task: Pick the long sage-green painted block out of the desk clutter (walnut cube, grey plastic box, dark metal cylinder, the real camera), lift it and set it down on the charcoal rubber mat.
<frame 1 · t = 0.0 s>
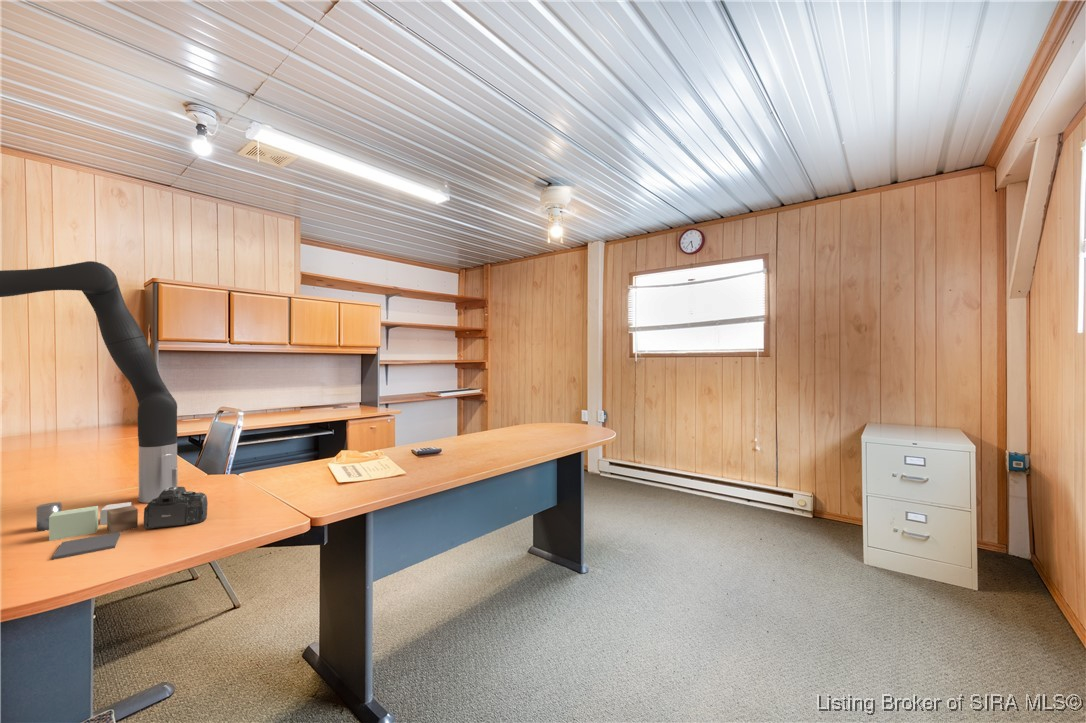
grey box: (116, 520, 121), on the table
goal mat: (88, 546, 105), on the table
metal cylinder: (49, 527, 115), on the table
camera: (176, 524, 119), on the table
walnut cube: (122, 528, 115), on the table
sage block: (74, 534, 111), on the table
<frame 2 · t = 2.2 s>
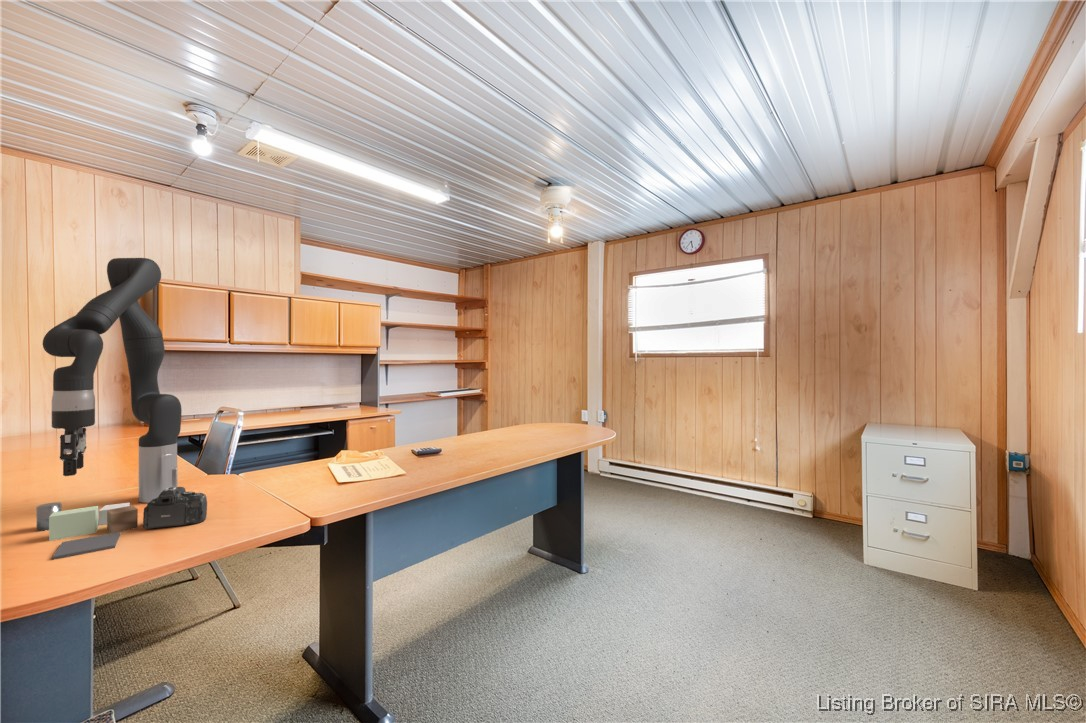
hand: (73, 471, 111), 16 cm above the table, fingers open, 8 cm apart
nothing on the table moved.
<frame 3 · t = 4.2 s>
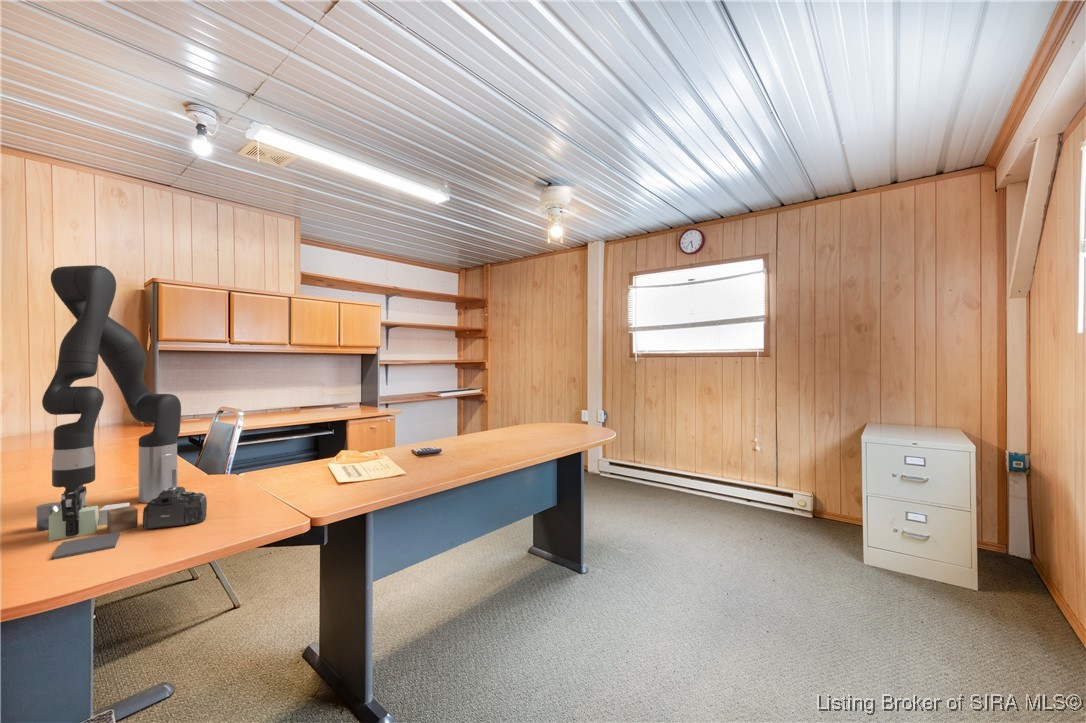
hand: (74, 532, 111), 1 cm above the table, fingers closed on sage block, 4 cm apart
sage block: (74, 534, 111), on the table, touching gripper
everything else where it was.
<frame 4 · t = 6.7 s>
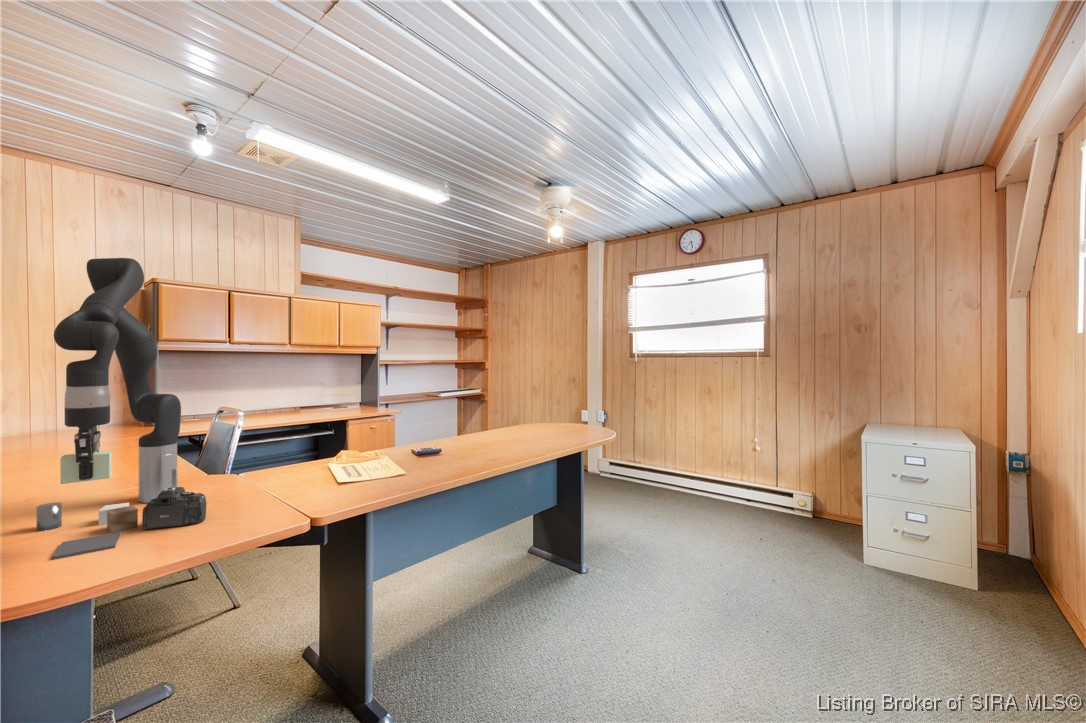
hand: (87, 476, 104), 17 cm above the table, fingers closed on sage block, 4 cm apart
sage block: (87, 479, 104), point 16 cm above the table, touching gripper
everything else where it was.
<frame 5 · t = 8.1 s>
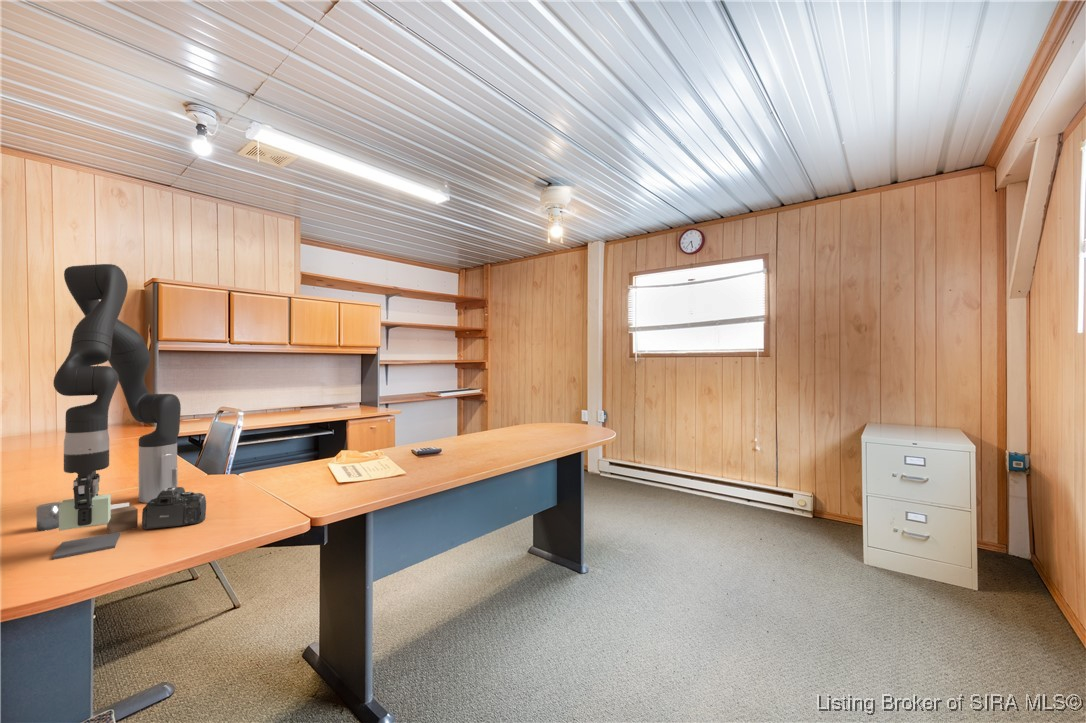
hand: (86, 521, 104), 6 cm above the table, fingers closed on sage block, 4 cm apart
sage block: (85, 524, 104), point 5 cm above the table, touching gripper
everything else where it was.
when the fingers open (3 cm above the table, at t = 9.0 s): sage block drops 1 cm, resting on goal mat.
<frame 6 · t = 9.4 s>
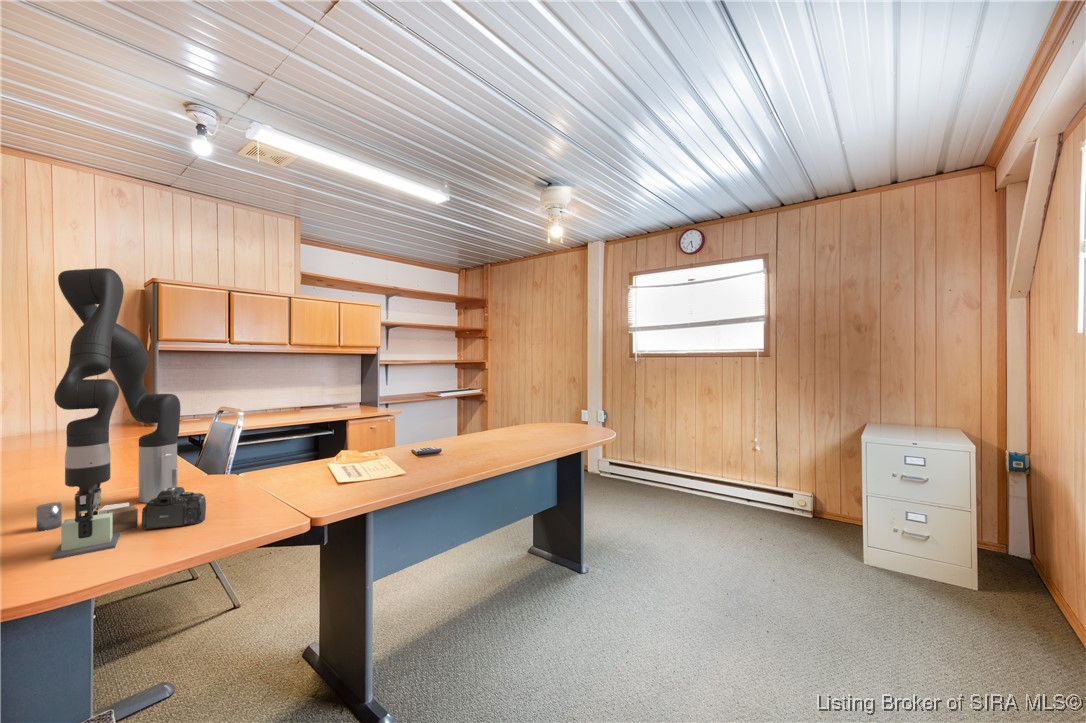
hand: (88, 532, 105), 3 cm above the table, fingers open, 7 cm apart
sage block: (87, 543, 105), point 1 cm above the table, touching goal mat
everything else where it was.
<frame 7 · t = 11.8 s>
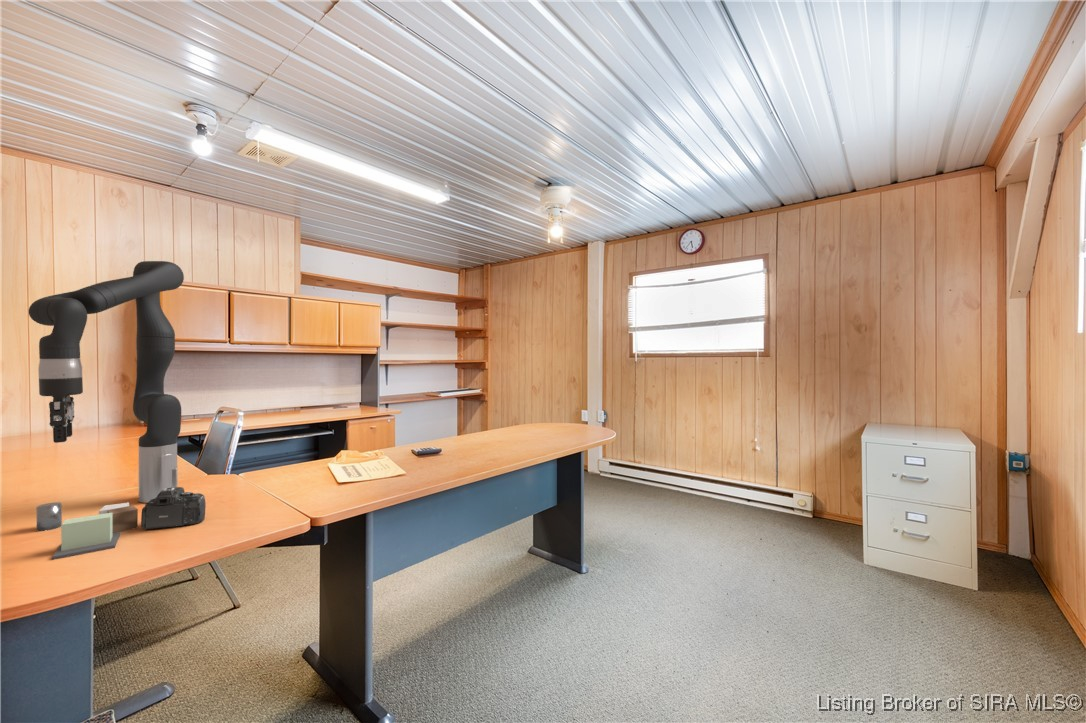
hand: (63, 439, 113), 24 cm above the table, fingers open, 8 cm apart
nothing on the table moved.
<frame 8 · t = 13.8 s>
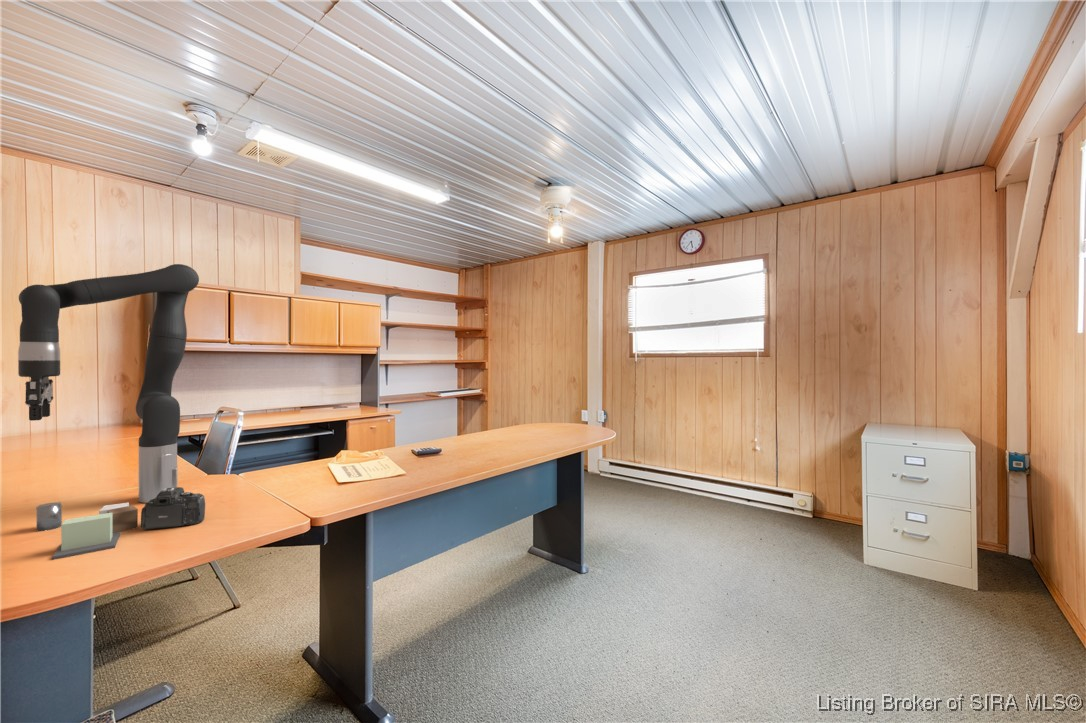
hand: (39, 418, 120), 28 cm above the table, fingers open, 8 cm apart
nothing on the table moved.
at the end: sage block inside the target area on the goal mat (0.1 cm from its centre), point 0.6 cm above the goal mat's base; sage block tilted 0°; the gripper is holding nothing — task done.
